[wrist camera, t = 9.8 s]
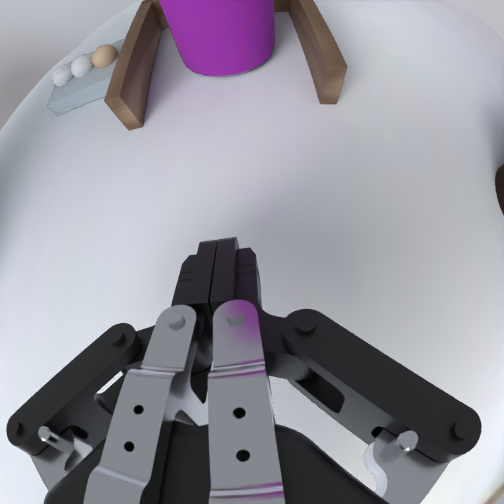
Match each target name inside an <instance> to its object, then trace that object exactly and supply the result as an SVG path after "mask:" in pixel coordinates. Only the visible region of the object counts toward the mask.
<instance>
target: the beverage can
mask: <svg viewBox="0 0 504 504" xmlns="http://www.w3.org/2000/svg"><path fill="white" fill-rule="evenodd" d="M159 2H160V4H161V7H162V9H163V12H164V15H165V17H166V20H167V22H168V25H169V28H170V30H171V33H172V35H173V38H174V40H175V43H176V46H177V48H178V51H179V53H180V56H181V58H182V60H183V62H184V64H185V65H186V67H187V68H189V69H190V70H192V71H193V72H195V73H199V74H202V75H205V76H217V77H226V76H234V75H238V74H241V73H245V72H248V71H249V70H252V69H254V68H255V67H257V66H259V65H261V64H263V63H264V62H265V61H266V60H267V59H268V58H269V57H270V56H271V54H272V51H273V48H274V42H275V34H274V0H159Z"/></svg>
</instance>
